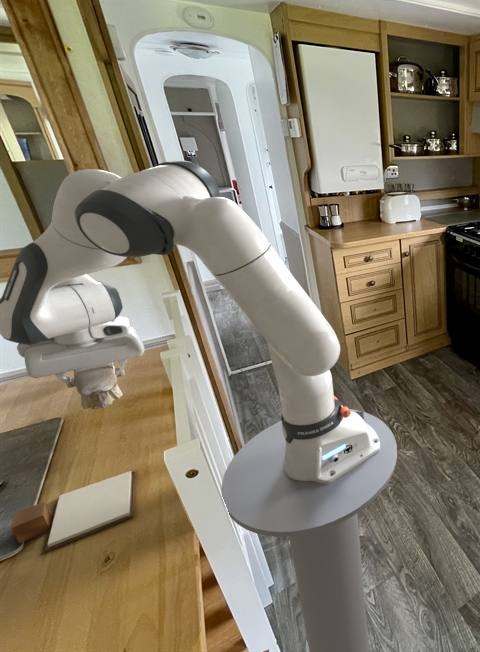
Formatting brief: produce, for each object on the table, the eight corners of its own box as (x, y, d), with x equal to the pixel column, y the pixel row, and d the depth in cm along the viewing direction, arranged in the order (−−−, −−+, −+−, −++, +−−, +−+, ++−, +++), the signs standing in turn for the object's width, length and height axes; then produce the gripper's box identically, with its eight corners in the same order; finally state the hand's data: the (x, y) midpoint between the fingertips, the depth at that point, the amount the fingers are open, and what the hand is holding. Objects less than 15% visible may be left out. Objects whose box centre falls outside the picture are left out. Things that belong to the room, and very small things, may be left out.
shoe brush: (127, 401, 89) (121, 383, 87) (83, 415, 84) (76, 396, 82) (113, 363, 104) (108, 347, 102) (75, 373, 99) (69, 356, 97)
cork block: (51, 516, 74) (44, 501, 73) (51, 530, 71) (43, 514, 70) (21, 529, 71) (13, 513, 70) (19, 543, 69) (10, 528, 67)
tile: (134, 472, 85) (133, 468, 84) (133, 517, 75) (131, 512, 74) (59, 499, 78) (56, 494, 77) (45, 552, 67) (43, 547, 67)
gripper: (10, 346, 80) (33, 401, 84) (135, 324, 92) (150, 373, 97) (17, 335, 84) (39, 388, 89) (136, 316, 96) (149, 363, 101)
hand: (97, 380), depth 93 cm, fingers closed on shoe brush, 7 cm apart
